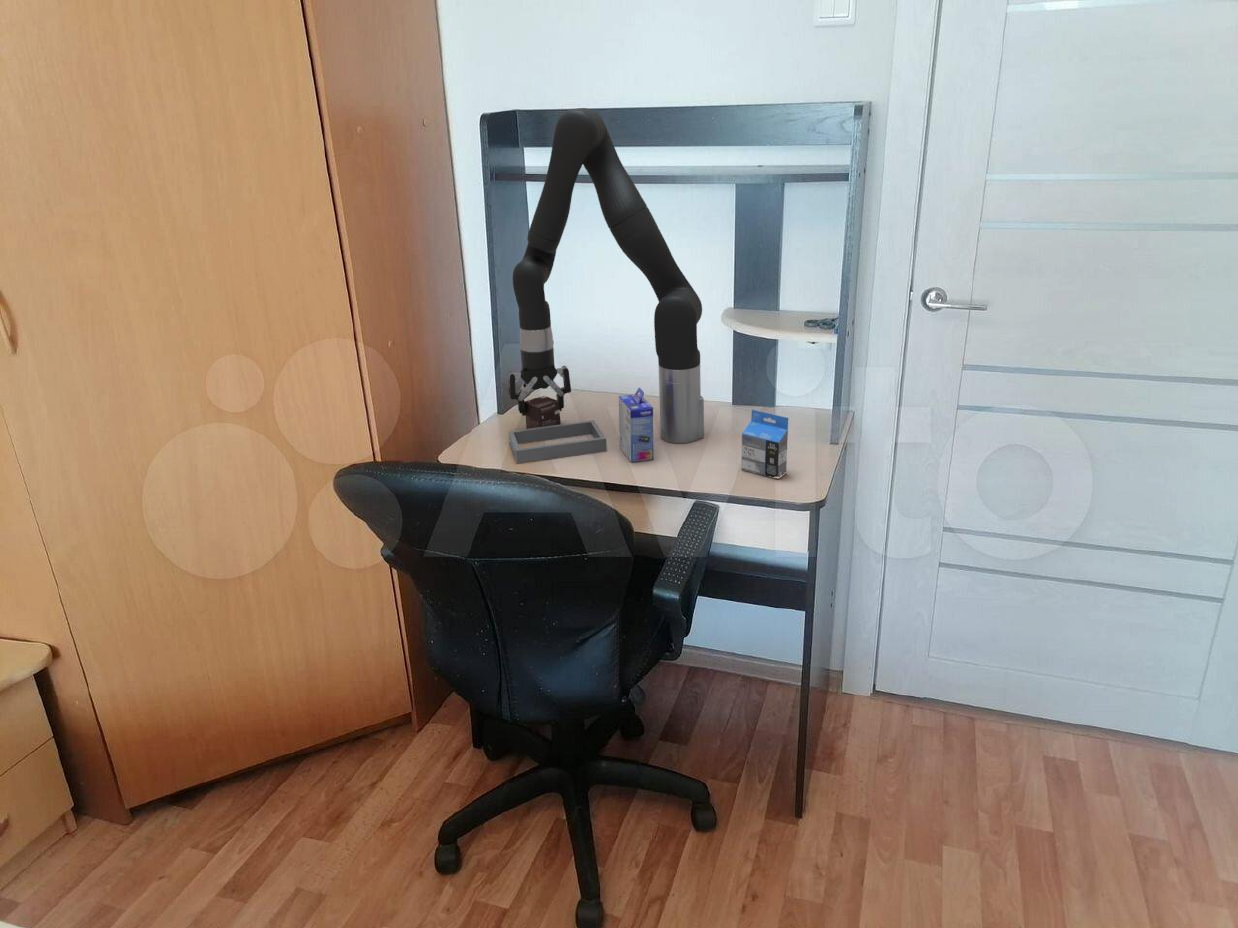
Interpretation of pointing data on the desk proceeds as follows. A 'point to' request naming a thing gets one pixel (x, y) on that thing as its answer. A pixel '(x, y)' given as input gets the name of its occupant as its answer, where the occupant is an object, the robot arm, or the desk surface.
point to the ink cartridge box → (636, 427)
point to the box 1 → (542, 412)
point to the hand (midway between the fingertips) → (541, 412)
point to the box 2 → (561, 448)
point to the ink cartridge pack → (765, 445)
